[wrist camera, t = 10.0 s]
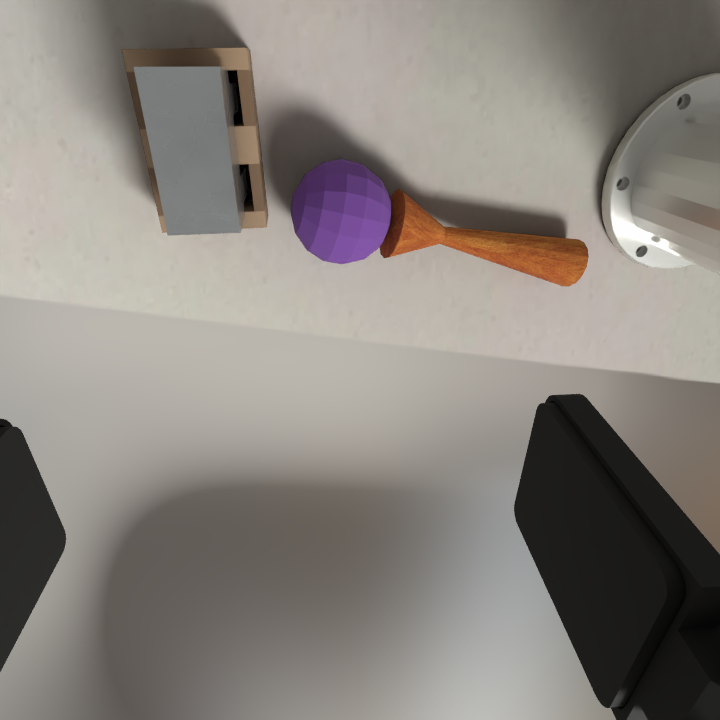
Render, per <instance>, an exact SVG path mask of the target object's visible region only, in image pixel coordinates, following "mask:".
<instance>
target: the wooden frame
mask: <svg viewBox="0 0 720 720" xmlns="http://www.w3.org/2000/svg"><path fill="white" fill-rule="evenodd" d="M122 53H123V58H124V62H125V67H126V71H127V76H128V80H129V85H130V89H131V94H132V98H133V103H134V107H135V112H136V116H137V121H138V125H139V130H140V134H141V139H142V143H143V148H144V152H145V157H146V161H147V166H148V170H149V175H150V179H151V184H152V188H153V193H154V197H155V202H156V206H157V211H158V215H159V220H160V224H161V229H162V233H165V232H167V229H166V224H165V219H164V214H163V209H162V205H161V200H160V195H159V190H158V185H157V180H156V175H155V170H154V165H153V160H152V155H151V151H150V146H149V141H148V136H147V131H146V126H145V121H144V116H143V111H142V106H141V101H140V97H139V92H138V87H137V82H136V77H135V72H134V67H225V68H227V69H228V71H237V75H238V83H239V91H240V99H241V107H242V115H243V122H234V127H235V136H236V144H237V152H238V161H239V164H249V172H250V180H251V188H252V196H253V201H244V210H245V218H244V222H243V225H242V229H243V228H263V227H267V220H268V209H267V200H266V191H265V182H264V173H263V163H262V154H261V145H260V136H259V127H258V118H257V109H256V100H255V91H254V82H253V73H252V63H251V54H250V50H249V49H247V48H183V49H122Z"/></svg>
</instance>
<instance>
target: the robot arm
mask: <svg viewBox="0 0 720 720" xmlns="http://www.w3.org/2000/svg"><path fill="white" fill-rule="evenodd" d="M601 205H602V216H603V222H604V225H605V229H606V232H607V235H608V236H609V238H610V240H611V241H612V243H613V245H614V246H615V247H616V248H617V249H618V250H619V251H620V252H621V253H622V254H623V255H624V256H626V257H628V258H630V259H631V260H633V261H635V262H637V263H639V264H642V265H644V266H647V267H651V268H658V269H672V268H680V267H684V266H688V265H692V264H697V265H699V266H701V267H703V268H706V269H708V270H710V271H712V272H714V273H716V274H719V275H720V73H712V74H708V75H704V76H699V77H695V78H693V79H691V80H689V81H686V82H684V83H682V84H680V85H678V86H676V87H674V88H673V89H671V90H670V91H668V92H667V93H665V94H664V95H662V96H661V97H659V98H658V99H657V100H656V101H655V102H654V103H653V104H651V105H650V106H649V107H648V108H647V109H646V110H645V111H644V112H643V113H642V114H641V115H640V116H639V117H638V119H637V120H636V121H635V122H634V124H633V125H632V126H631V127H630V128H629V130H628V131H627V133H626V134H625V136H624V137H623V139H622V141H621V142H620V144H619V146H618V147H617V149H616V151H615V153H614V156H613V158H612V160H611V162H610V165H609V167H608V170H607V174H606V178H605V181H604V185H603V193H602V204H601ZM514 512H515V518H516V522H517V524H518V527H519V529H520V531H521V533H522V535H523V538H524V540H525V542H526V544H527V546H528V548H529V551H530V553H531V555H532V557H533V559H534V561H535V564H536V566H537V568H538V570H539V573H540V575H541V577H542V579H543V581H544V583H545V586H546V588H547V590H548V592H549V594H550V597H551V599H552V601H553V603H554V605H555V607H556V609H557V612H558V614H559V616H560V618H561V621H562V623H563V625H564V627H565V629H566V631H567V633H568V636H569V638H570V640H571V642H572V645H573V647H574V649H575V651H576V653H577V656H578V658H579V660H580V662H581V664H582V666H583V669H584V671H585V673H586V675H587V677H588V680H589V682H590V684H591V686H592V688H593V691H594V693H595V695H596V697H597V698H598V700H599V701H600V703H601V704H602V705H603V706H604V707H606V708H611V709H612V711H613V713H614V715H615V718H616V720H720V554H719V553H718V552H717V551H716V550H715V548H714V547H713V546H712V545H711V544H710V543H709V541H708V540H707V539H706V538H705V537H704V535H703V534H702V533H701V532H700V531H699V530H698V528H697V527H696V526H695V525H694V524H693V523H692V521H691V520H690V519H689V518H688V517H687V516H686V514H685V513H684V512H683V511H682V510H681V509H680V507H679V506H678V505H677V504H676V503H675V502H674V500H673V499H672V498H671V497H670V496H669V494H668V493H667V492H666V491H665V490H664V489H663V487H662V486H661V485H660V484H659V483H658V481H657V480H656V479H655V478H654V477H653V476H652V474H651V473H649V471H648V470H647V469H646V468H645V466H644V465H643V464H642V463H641V461H640V460H639V459H638V458H637V457H636V456H635V454H634V453H633V452H632V451H631V450H630V449H629V447H628V446H627V445H626V444H625V443H624V442H623V440H622V439H621V438H620V437H619V436H618V435H617V433H616V432H615V431H614V430H613V429H612V427H611V426H610V425H609V424H608V423H607V422H606V420H605V419H604V418H603V417H602V416H601V415H600V413H599V412H598V411H597V410H596V409H595V408H594V406H593V405H592V404H591V403H590V402H589V401H588V399H587V398H586V397H585V396H583V395H581V394H570V395H551V396H549V397H548V399H547V400H546V402H545V403H541V404H539V406H538V407H537V410H536V415H535V419H534V423H533V427H532V431H531V436H530V440H529V445H528V449H527V453H526V457H525V461H524V466H523V470H522V474H521V479H520V483H519V487H518V491H517V496H516V500H515V505H514ZM65 543H66V534H65V530H64V528H63V525H62V523H61V521H60V518H59V516H58V514H57V512H56V509H55V507H54V505H53V502H52V500H51V498H50V495H49V493H48V491H47V488H46V486H45V484H44V481H43V479H42V477H41V475H40V472H39V470H38V468H37V465H36V463H35V461H34V458H33V456H32V454H31V451H30V449H29V447H28V444H27V442H26V440H25V438H24V435H23V433H22V432H21V430H20V429H19V428H18V427H13V426H12V425H11V423H10V422H8V421H7V420H4V419H0V671H1V670H2V668H3V665H4V664H5V662H6V660H7V658H8V656H9V654H10V652H11V650H12V649H13V647H14V645H15V643H16V641H17V639H18V637H19V635H20V633H21V631H22V629H23V628H24V626H25V624H26V622H27V620H28V618H29V616H30V614H31V612H32V610H33V608H34V607H35V605H36V603H37V601H38V599H39V597H40V595H41V593H42V591H43V589H44V588H45V586H46V584H47V581H48V580H49V578H50V576H51V574H52V572H53V570H54V568H55V567H56V564H57V563H58V561H59V559H60V557H61V555H62V553H63V551H64V547H65Z"/></svg>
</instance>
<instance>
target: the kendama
mask: <svg viewBox="0 0 720 720" xmlns="http://www.w3.org/2000/svg"><path fill="white" fill-rule="evenodd" d="M291 215H292V220H293V225H294V230H295V233H296V235H297V236H298V238H299V239H300V241H301V242H302V244H303V245H304V247H305V248H306V249H307V250H308V251H309V252H311V253H312V254H314V255H315V256H317V257H318V258H320V259H321V260H323V261H327V262H333V263H338V264H345V263H349V262H354V261H358V260H362V259H365V258H366V257H368V256H369V255H370V254H371V253H373V252H374V251H375V250H377V249H378V248H379V247H380V252H381V255H382V256H383V257H384V258H387V257H391V256H395V255H399V254H403V253H406V252H410V251H414V250H418V249H421V248H425V247H429V246H433V245H436V244H442V245H445V246H448V247H451V248H454V249H457V250H460V251H462V252H465V253H468V254H471V255H474V256H477V257H480V258H483V259H486V260H488V261H491V262H494V263H497V264H500V265H503V266H506V267H509V268H512V269H515V270H517V271H520V272H523V273H526V274H529V275H532V276H535V277H538V278H541V279H544V280H546V281H549V282H552V283H555V284H558V285H561V286H571V285H572V284H574V283H576V282H577V281H578V280H579V279H580V278H581V276H582V275H583V273H584V271H585V269H586V267H587V262H588V249H587V247H586V245H585V243H584V242H582V241H580V240H578V239H568V238H557V237H547V236H536V235H526V234H516V233H505V232H495V231H485V230H474V229H464V228H454V227H444V226H443V225H441V224H440V223H439V222H438V221H437V220H436V219H434V218H433V217H432V216H431V215H430V214H428V213H427V212H426V211H425V210H424V209H423V208H421V207H420V206H419V205H418V204H417V203H416V202H414V201H413V200H412V199H411V198H410V197H409V196H407V195H406V194H405V193H404V192H403V191H401V190H400V189H398V190H396V191H395V192H394V193H393V194H392V196H391V197H390V196H389V194H388V192H387V190H386V188H385V186H384V184H383V182H382V181H381V179H380V178H379V177H377V176H376V175H375V174H374V173H372V172H371V171H370V170H368V169H367V168H366V167H365V166H363V165H362V164H360V163H356V162H352V161H348V160H344V159H339V160H333V161H328V162H323V163H321V164H320V165H318V166H317V167H315V168H314V169H312V170H311V171H310V172H308V173H307V174H305V176H304V177H303V178H302V180H301V182H300V184H299V185H298V187H297V189H296V190H295V192H294V194H293V198H292V203H291Z"/></svg>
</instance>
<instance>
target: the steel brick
mask: <svg viewBox="0 0 720 720" xmlns="http://www.w3.org/2000/svg"><path fill="white" fill-rule="evenodd" d="M134 72H135V77H136V82H137V87H138V92H139V97H140V101H141V106H142V111H143V116H144V121H145V126H146V131H147V136H148V141H149V146H150V151H151V155H152V160H153V165H154V170H155V175H156V180H157V185H158V190H159V195H160V200H161V205H162V209H163V214H164V219H165V224H166V229H167V234H168V235H190V234H216V233H240V232H241V229H242V225H243V222H244V218H245V210H244V201H245V198H246V195H247V192H248V189H247V180H246V172H245V167H239V161H238V152H237V144H236V136H235V127H234V119H233V114H235V113H236V112H237V111H238V102H237V93H236V85H235V83H229V78H228V69H227V68H225V67H134Z"/></svg>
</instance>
